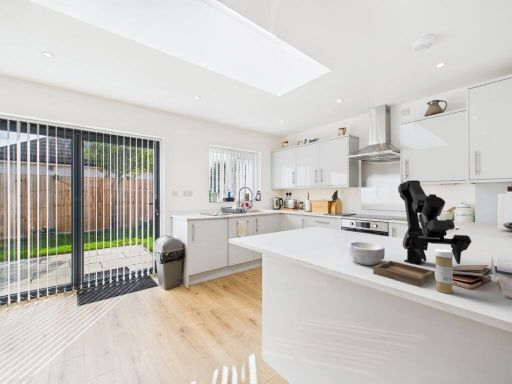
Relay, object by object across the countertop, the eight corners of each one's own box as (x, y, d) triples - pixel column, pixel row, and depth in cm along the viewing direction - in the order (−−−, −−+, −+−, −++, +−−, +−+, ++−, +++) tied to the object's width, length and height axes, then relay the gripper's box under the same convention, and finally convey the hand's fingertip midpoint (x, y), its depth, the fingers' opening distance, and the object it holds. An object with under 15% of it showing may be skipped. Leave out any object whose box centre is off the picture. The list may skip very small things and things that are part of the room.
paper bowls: (389, 268, 99) (389, 249, 99) (351, 266, 102) (351, 248, 102) (378, 258, 114) (378, 242, 114) (345, 256, 117) (345, 240, 117)
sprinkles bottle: (450, 289, 78) (450, 249, 78) (454, 295, 74) (454, 252, 74) (433, 287, 80) (433, 247, 80) (436, 292, 76) (436, 250, 76)
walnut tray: (390, 266, 101) (390, 260, 101) (434, 278, 88) (434, 271, 88) (373, 273, 93) (373, 266, 93) (419, 286, 80) (419, 279, 80)
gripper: (405, 210, 86) (414, 246, 76) (468, 211, 80) (487, 251, 70) (400, 228, 94) (407, 264, 83) (458, 231, 87) (473, 270, 77)
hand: (442, 262), depth 78 cm, fingers open, 9 cm apart
